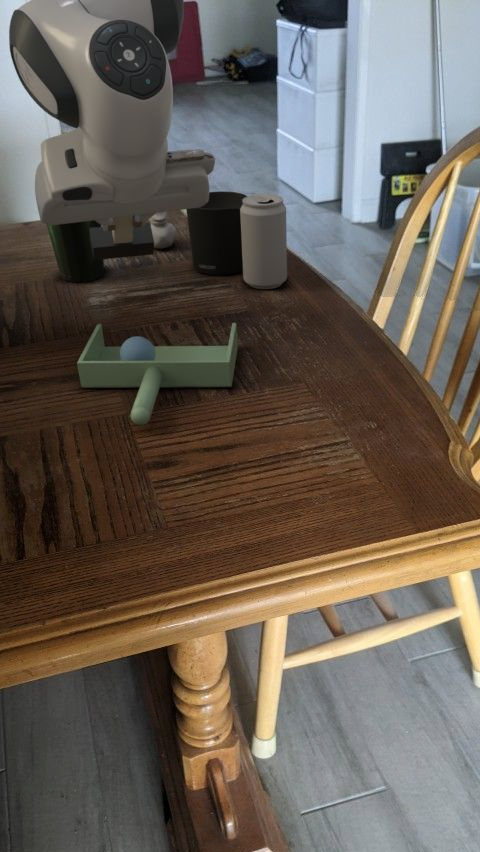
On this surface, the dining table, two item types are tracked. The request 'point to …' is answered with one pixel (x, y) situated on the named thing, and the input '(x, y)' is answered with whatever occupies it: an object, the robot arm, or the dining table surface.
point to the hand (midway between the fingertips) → (123, 224)
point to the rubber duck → (162, 230)
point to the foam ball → (137, 350)
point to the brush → (122, 240)
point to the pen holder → (217, 234)
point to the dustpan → (156, 369)
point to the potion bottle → (75, 251)
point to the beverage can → (264, 240)
